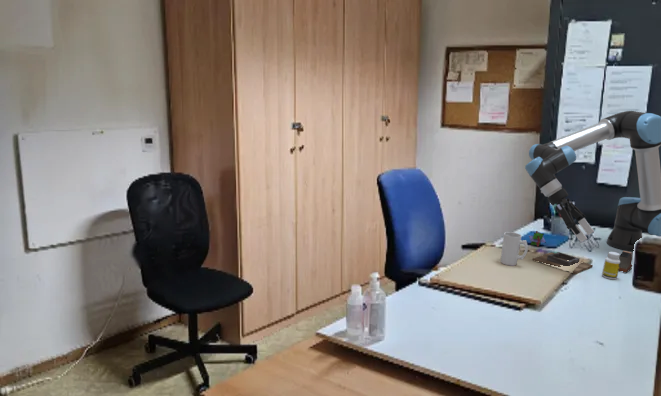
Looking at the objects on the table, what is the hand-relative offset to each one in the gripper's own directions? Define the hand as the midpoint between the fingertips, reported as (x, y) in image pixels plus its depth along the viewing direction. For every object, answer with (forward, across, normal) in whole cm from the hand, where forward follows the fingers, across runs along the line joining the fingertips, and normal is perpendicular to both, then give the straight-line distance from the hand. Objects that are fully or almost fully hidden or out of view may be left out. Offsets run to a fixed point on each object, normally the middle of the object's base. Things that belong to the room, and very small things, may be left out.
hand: (587, 236), depth 224 cm
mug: (-6, +14, -27) cm, 31 cm away
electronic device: (+19, -15, -1) cm, 25 cm away
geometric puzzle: (-6, -19, -26) cm, 33 cm away
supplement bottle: (+17, 0, -3) cm, 17 cm away
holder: (+4, -2, -16) cm, 16 cm away
